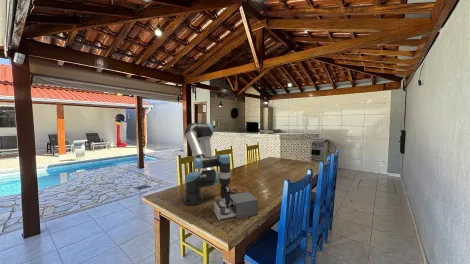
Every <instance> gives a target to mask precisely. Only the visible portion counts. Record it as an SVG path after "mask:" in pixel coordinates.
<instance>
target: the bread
mask: <svg viewBox="0 0 470 264" xmlns="http://www.w3.org/2000/svg"><path fill="white" fill-rule="evenodd" d="M228 187H229V189H230V195H232V194H238V193H245V192H249V193H250V194H251V191H250V190H249V189H248V188H245V187H243V186H238V185H234V184H233V185H228Z"/></svg>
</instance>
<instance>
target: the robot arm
mask: <svg viewBox="0 0 470 264" xmlns="http://www.w3.org/2000/svg"><path fill="white" fill-rule="evenodd" d="M213 135H214V128H213V126H212V124H211V123H210V122H192V123H190V124H188V125H187V126H186V127H185V129H184V137H185V139H186V140H187V141H188V145H189V146H190V150H191V153H192V156H193V160H192V165H193V166H192V167H193V168H194V169H195V170H201V172H200V171H191V172H188V173H187V174H186V175H185V195H184V198H183V204H184V205H186V206H192V207H193V206H197V205H200V204H202V203H203V202H204V197H203V194H202V192H201V190H202V189H203V188H207V187H213V186H216V185H218V182H219V184H220V196H221V198H222V200H225V203H224V204H225V213H229V204H230V189H229V187H228V186H229V185H230V184H231V156H230V155H229V154H220V155H219V154H215V155H212V146H211V145H212V144H211V139H212V136H213ZM215 167H218V169H219V172H218V171H217V170H216V168H215Z"/></svg>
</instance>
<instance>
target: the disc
mask: <svg viewBox="0 0 470 264" xmlns="http://www.w3.org/2000/svg"><path fill="white" fill-rule="evenodd" d="M219 203H220V206H222V207H225V204H224V203H225V200H221V201H220V202H219ZM230 205H231V201H230V204H229V206H230Z"/></svg>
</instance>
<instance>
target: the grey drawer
mask: <svg viewBox="0 0 470 264" xmlns="http://www.w3.org/2000/svg"><path fill="white" fill-rule="evenodd" d="M213 212H214V214H215V216H216V218H217V220H218V221H221V220H223V219H229V218H234V217H235V218H236V208H235V206H232V207H230V206H229V213H225V207H222V206H221V208H219V207H218V205H217V204H216V202H215V201H214V202H213Z"/></svg>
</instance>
